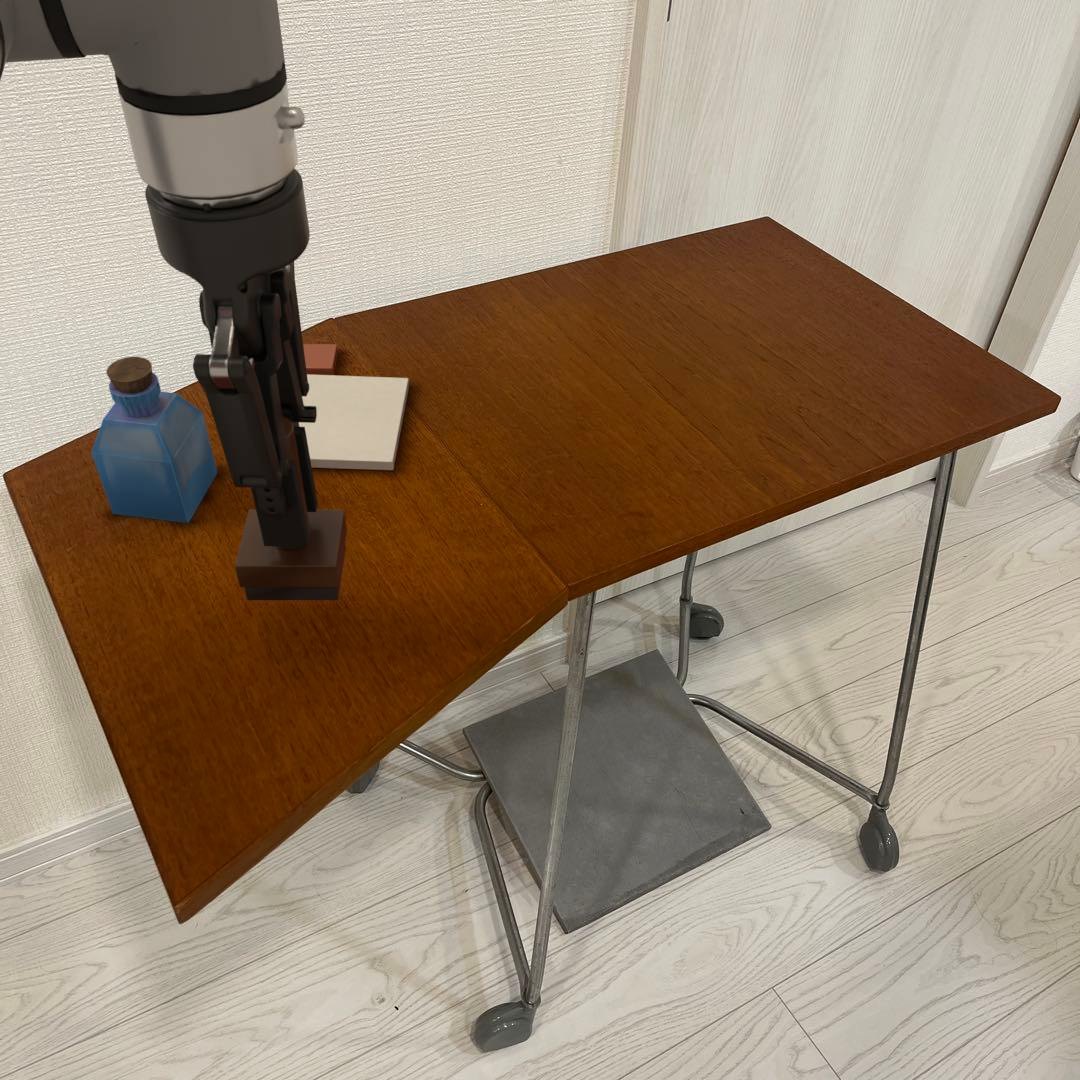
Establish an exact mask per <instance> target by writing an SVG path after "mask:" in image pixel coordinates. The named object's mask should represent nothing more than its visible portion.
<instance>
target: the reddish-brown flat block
mask: <svg viewBox="0 0 1080 1080" xmlns="http://www.w3.org/2000/svg"><path fill="white" fill-rule="evenodd" d="M303 347H304V355H305V363H306V371H307V374H310V375H335V371H336V366H337V361H338V356H339V355H338V354H339V352H338V351H339V350H338V345H337V343H303Z"/></svg>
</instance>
